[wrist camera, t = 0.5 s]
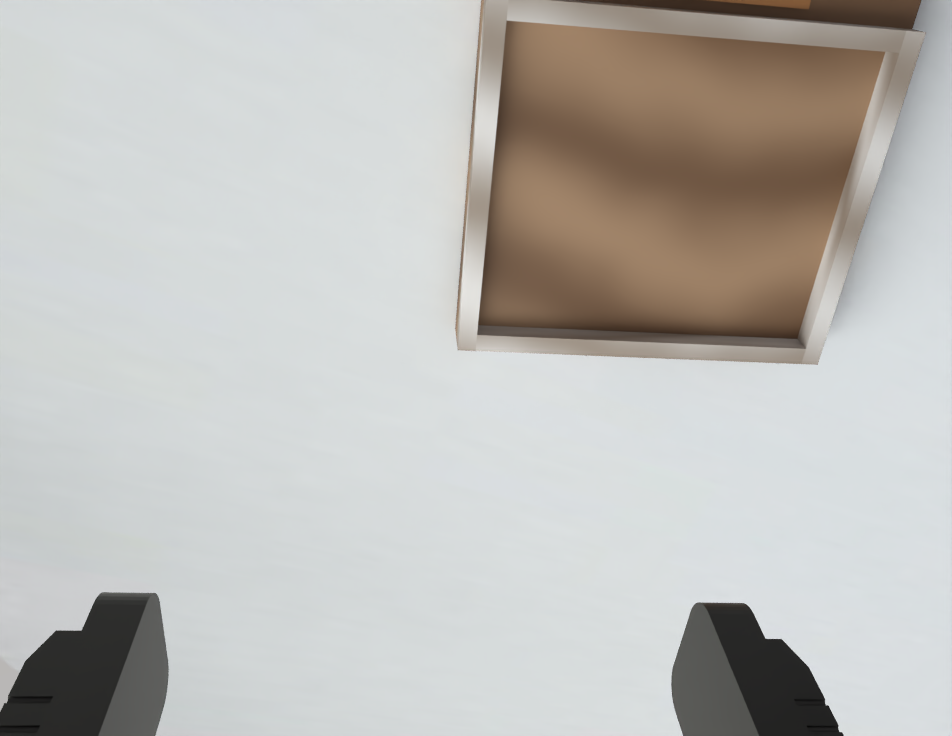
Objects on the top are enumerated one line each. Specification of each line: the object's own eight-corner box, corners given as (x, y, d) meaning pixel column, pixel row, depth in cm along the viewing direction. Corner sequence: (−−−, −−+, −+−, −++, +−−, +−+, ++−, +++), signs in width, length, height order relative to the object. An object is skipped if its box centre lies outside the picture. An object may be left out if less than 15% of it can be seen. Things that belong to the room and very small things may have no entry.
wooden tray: (490, -113, 30) (495, -114, 28) (925, -69, 32) (958, -68, 30) (455, 328, 38) (457, 350, 37) (797, 343, 40) (817, 364, 38)
